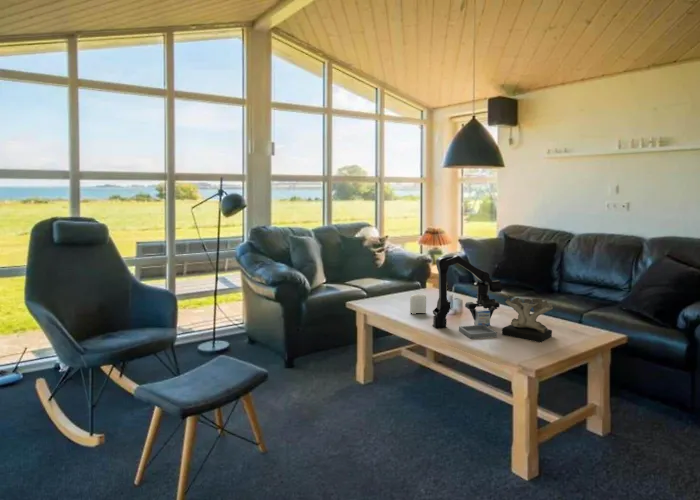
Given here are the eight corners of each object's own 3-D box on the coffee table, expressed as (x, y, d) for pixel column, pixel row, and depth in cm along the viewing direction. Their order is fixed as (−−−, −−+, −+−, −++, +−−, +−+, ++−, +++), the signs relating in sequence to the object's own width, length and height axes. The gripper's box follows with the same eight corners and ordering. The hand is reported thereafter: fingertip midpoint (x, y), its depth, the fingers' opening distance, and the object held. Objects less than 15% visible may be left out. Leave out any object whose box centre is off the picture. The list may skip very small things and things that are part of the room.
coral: (558, 338, 268) (560, 298, 265) (541, 347, 254) (542, 304, 251) (514, 329, 286) (515, 291, 283) (495, 337, 271) (496, 297, 269)
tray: (470, 338, 269) (470, 334, 269) (458, 330, 284) (458, 326, 283) (496, 336, 272) (496, 332, 272) (484, 329, 287) (484, 324, 286)
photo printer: (425, 312, 326) (425, 293, 324) (426, 313, 321) (427, 294, 320) (409, 313, 324) (409, 293, 323) (410, 314, 320) (411, 295, 318)
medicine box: (477, 326, 292) (478, 311, 291) (473, 324, 296) (474, 309, 295) (490, 325, 294) (490, 310, 293) (486, 323, 298) (486, 308, 297)
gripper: (473, 296, 283) (472, 324, 285) (504, 294, 286) (503, 322, 288) (465, 292, 294) (464, 319, 296) (495, 290, 297) (494, 317, 299)
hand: (482, 319), depth 294 cm, fingers open, 9 cm apart
